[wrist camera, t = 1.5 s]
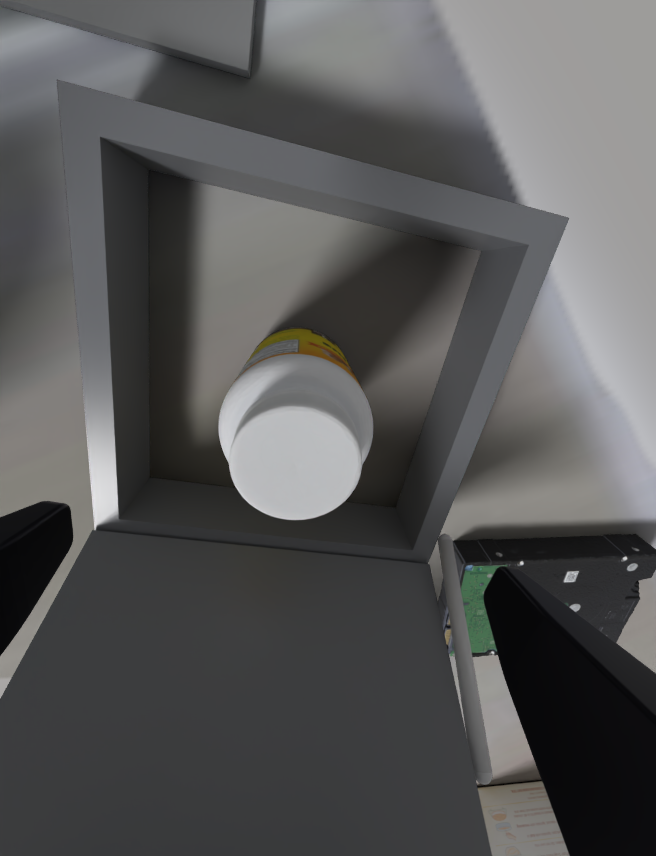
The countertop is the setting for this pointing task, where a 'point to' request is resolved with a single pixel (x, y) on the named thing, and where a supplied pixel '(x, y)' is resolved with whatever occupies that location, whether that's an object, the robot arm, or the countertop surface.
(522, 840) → the coffeecake box
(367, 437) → the supplement bottle
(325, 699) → the equipment case
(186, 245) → the countertop surface
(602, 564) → the disk drive
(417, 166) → the countertop surface
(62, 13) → the rubber mat
